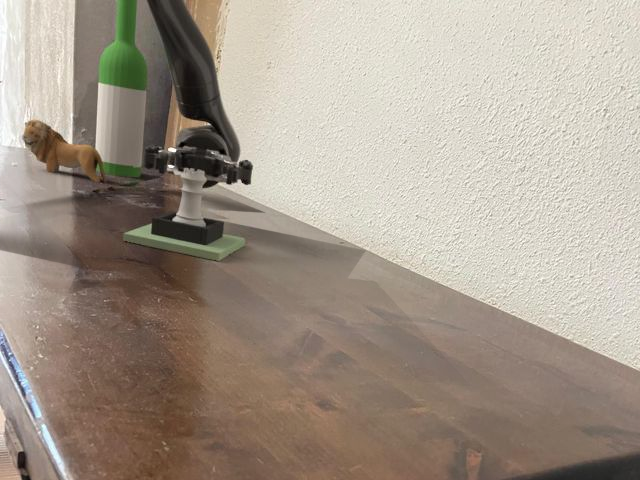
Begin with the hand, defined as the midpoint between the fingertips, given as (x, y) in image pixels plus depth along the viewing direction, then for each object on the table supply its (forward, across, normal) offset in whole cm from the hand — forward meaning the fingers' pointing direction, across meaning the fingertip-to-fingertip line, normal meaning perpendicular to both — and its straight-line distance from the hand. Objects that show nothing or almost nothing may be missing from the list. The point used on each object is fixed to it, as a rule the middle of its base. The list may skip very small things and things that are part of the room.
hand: (196, 170), depth 94 cm
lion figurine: (-26, -21, +9) cm, 35 cm away
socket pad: (+4, 0, +9) cm, 9 cm away
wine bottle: (-38, -15, +9) cm, 41 cm away
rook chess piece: (+4, 0, +8) cm, 8 cm away
